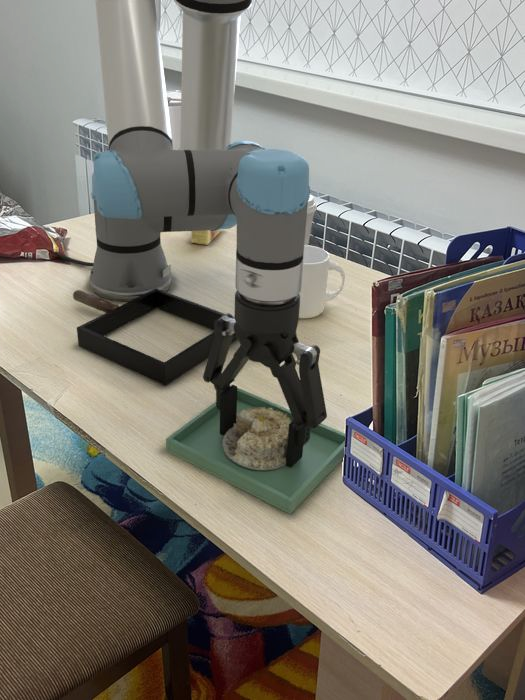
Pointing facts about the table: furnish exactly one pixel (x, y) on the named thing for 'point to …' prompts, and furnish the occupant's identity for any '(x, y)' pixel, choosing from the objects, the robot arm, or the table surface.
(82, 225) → the table surface
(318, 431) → the tray
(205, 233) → the candy box
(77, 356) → the table surface
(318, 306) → the mug
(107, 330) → the pan
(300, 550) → the table surface
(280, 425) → the cake
